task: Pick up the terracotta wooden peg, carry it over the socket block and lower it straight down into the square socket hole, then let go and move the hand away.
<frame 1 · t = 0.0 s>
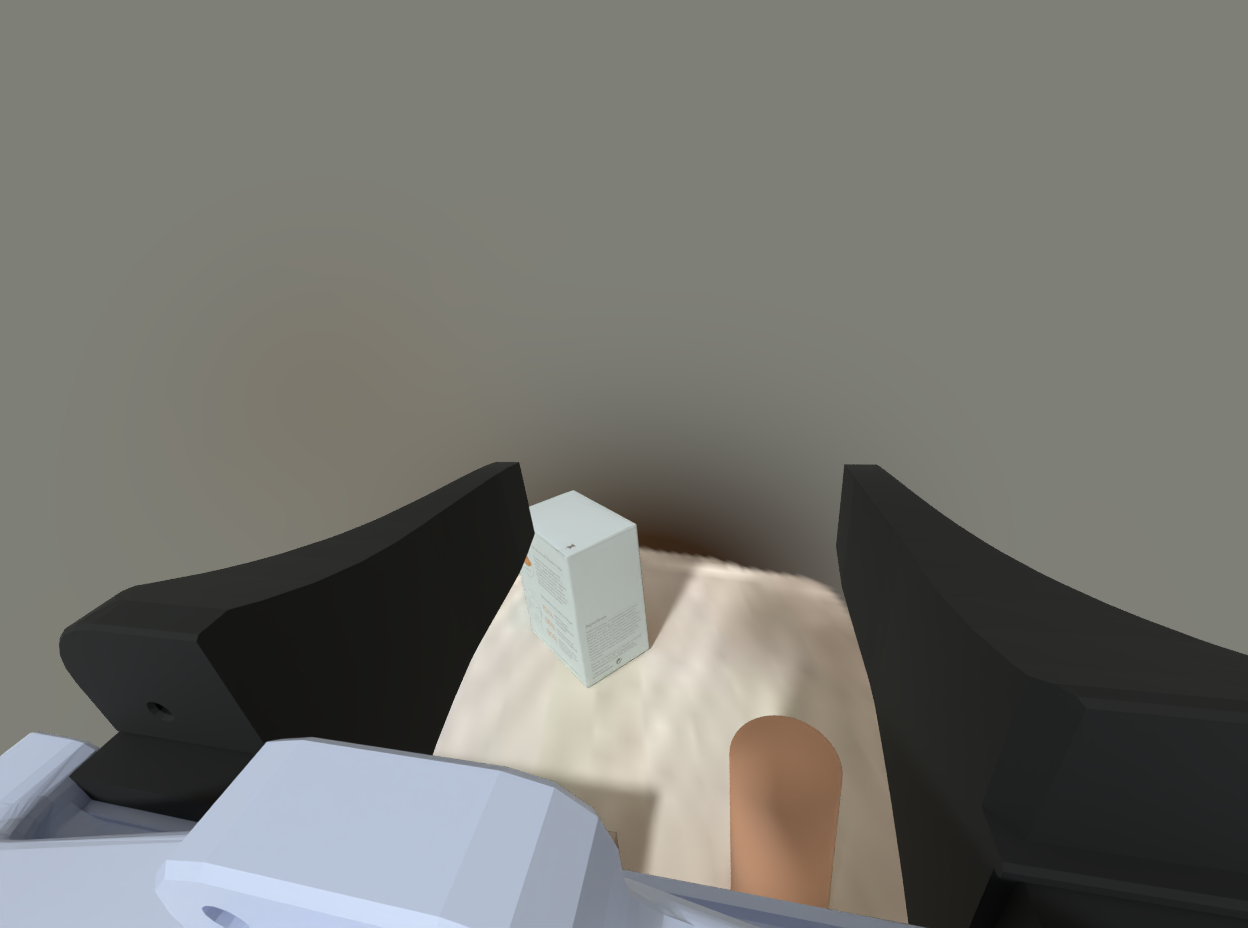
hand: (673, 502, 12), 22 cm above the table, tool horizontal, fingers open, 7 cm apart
small box: (588, 643, 39), on the table
peg: (777, 904, 23), on the table
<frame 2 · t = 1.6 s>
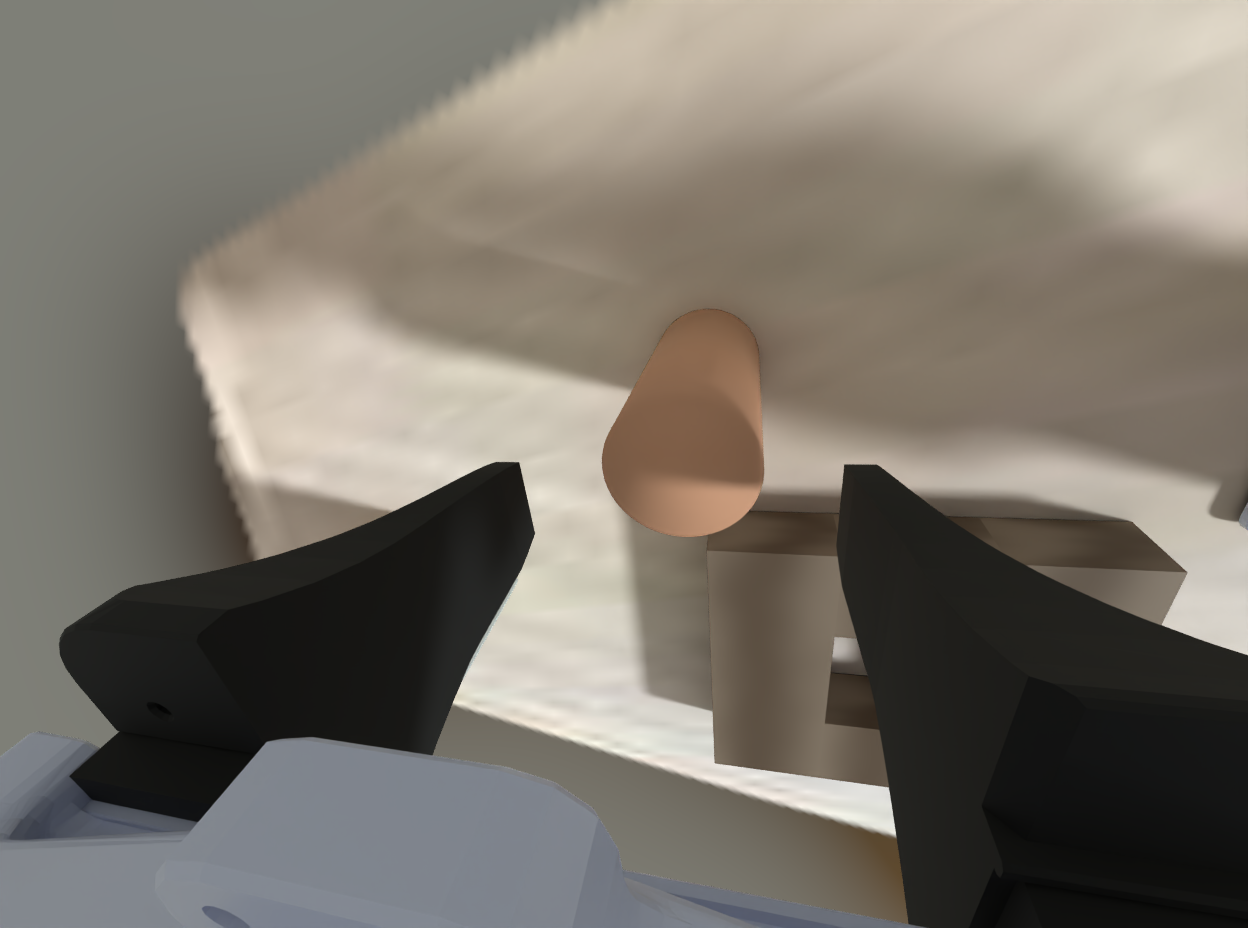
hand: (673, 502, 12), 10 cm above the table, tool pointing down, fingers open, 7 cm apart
small box: (452, 587, 30), on the table
peg: (706, 360, 21), on the table
socket block: (883, 636, 25), on the table
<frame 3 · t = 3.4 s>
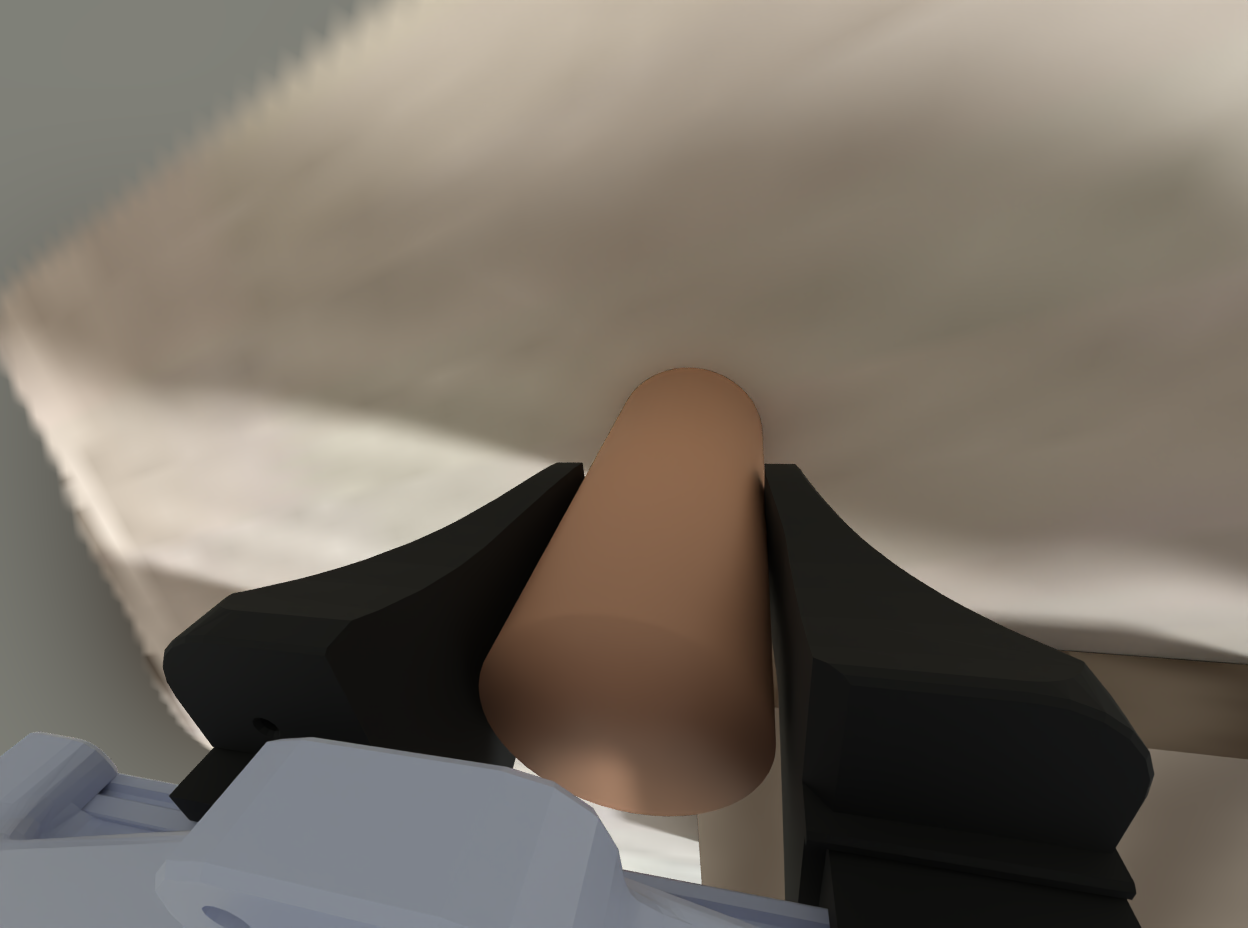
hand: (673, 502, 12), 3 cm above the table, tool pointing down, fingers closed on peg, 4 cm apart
peg: (688, 436, 15), on the table, touching gripper
socket block: (924, 780, 19), on the table
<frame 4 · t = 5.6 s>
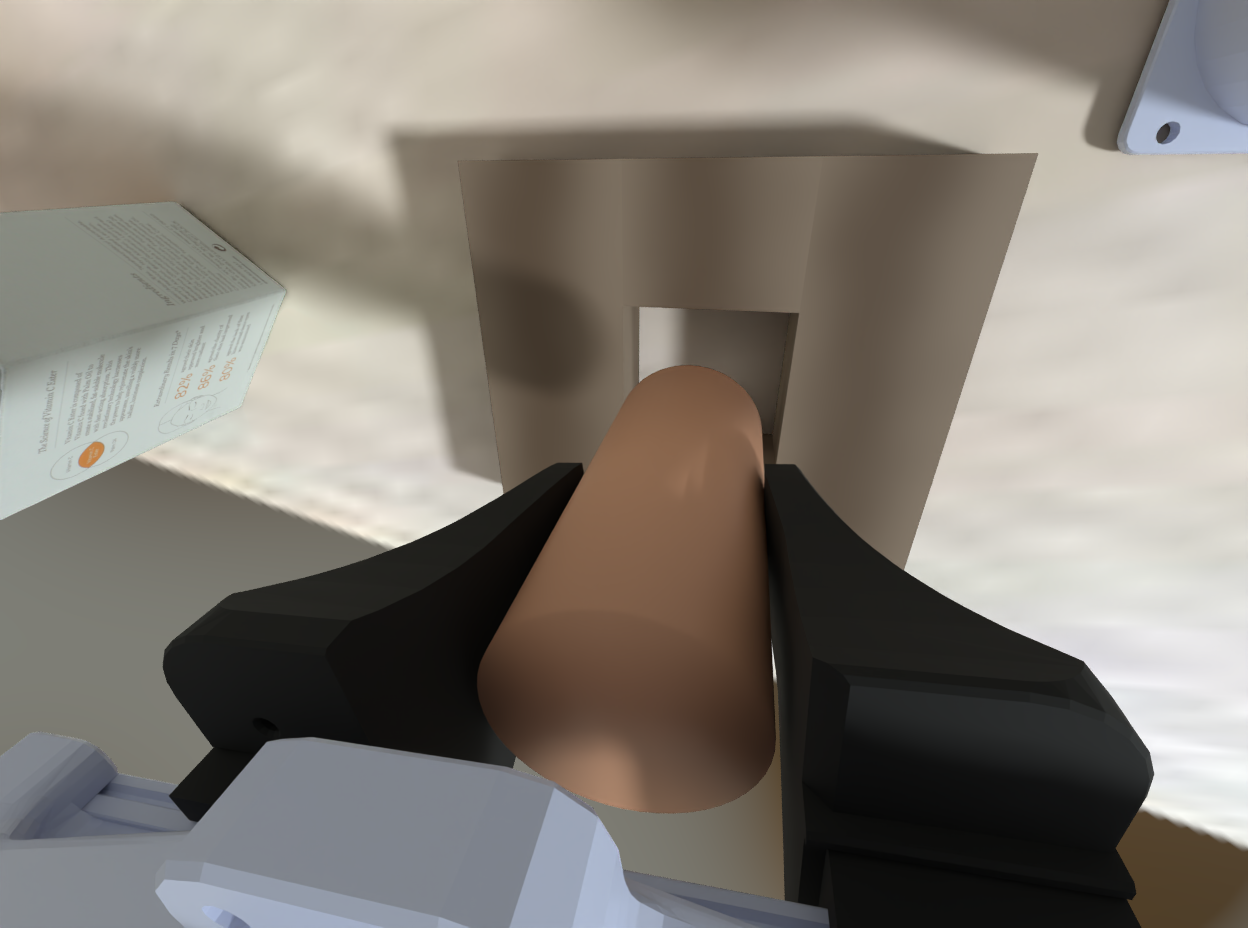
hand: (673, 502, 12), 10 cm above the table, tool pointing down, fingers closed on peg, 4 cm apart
small box: (218, 313, 25), on the table
peg: (688, 434, 15), point 7 cm above the table, touching gripper
socket block: (708, 364, 21), on the table
when the fingers open (4 cm above the table, at t = 8.2 s): peg stays where it is, resting in socket block.
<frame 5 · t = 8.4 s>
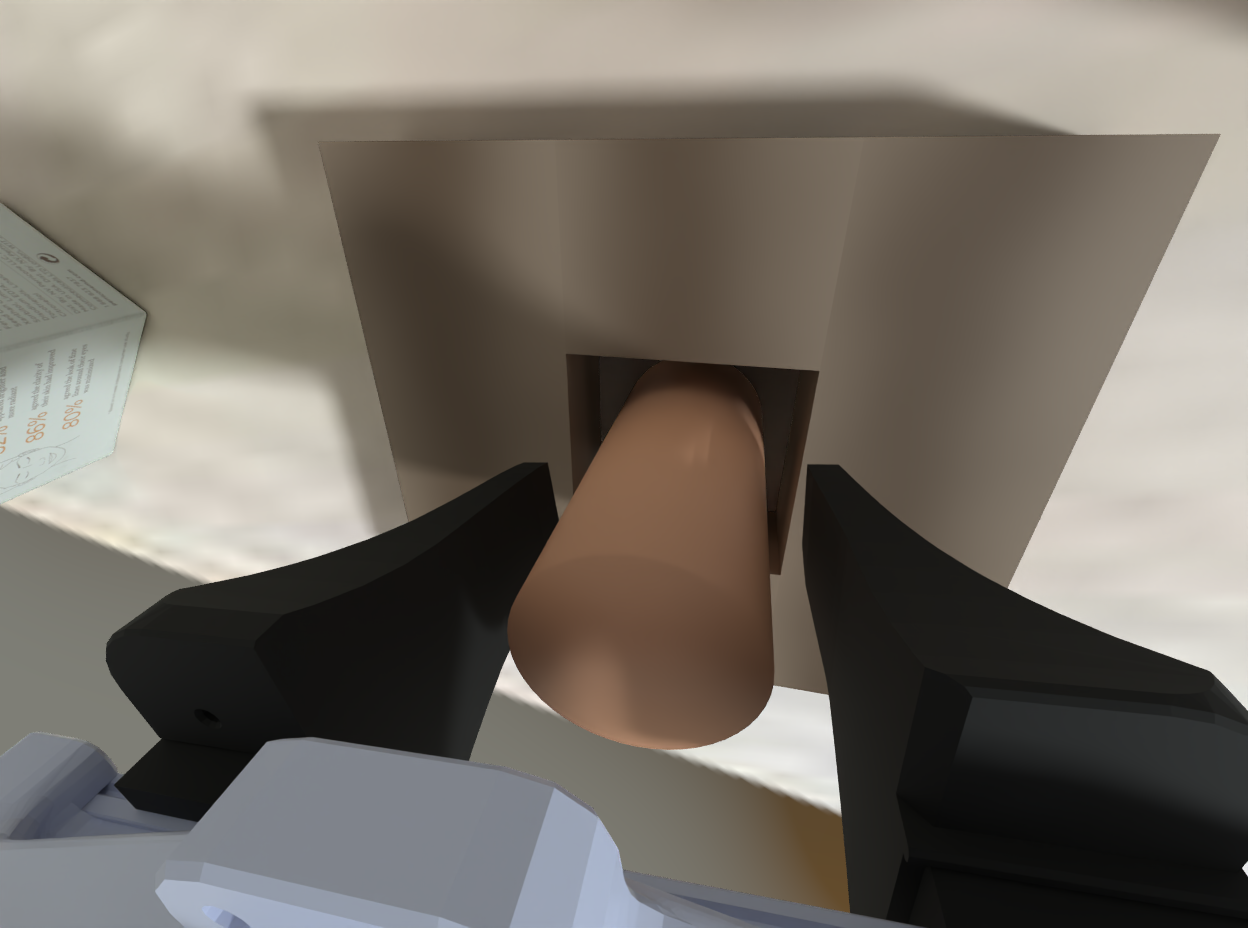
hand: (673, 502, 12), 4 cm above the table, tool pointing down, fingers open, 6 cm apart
small box: (71, 339, 19), on the table
peg: (692, 420, 15), resting in socket block
socket block: (691, 422, 16), on the table
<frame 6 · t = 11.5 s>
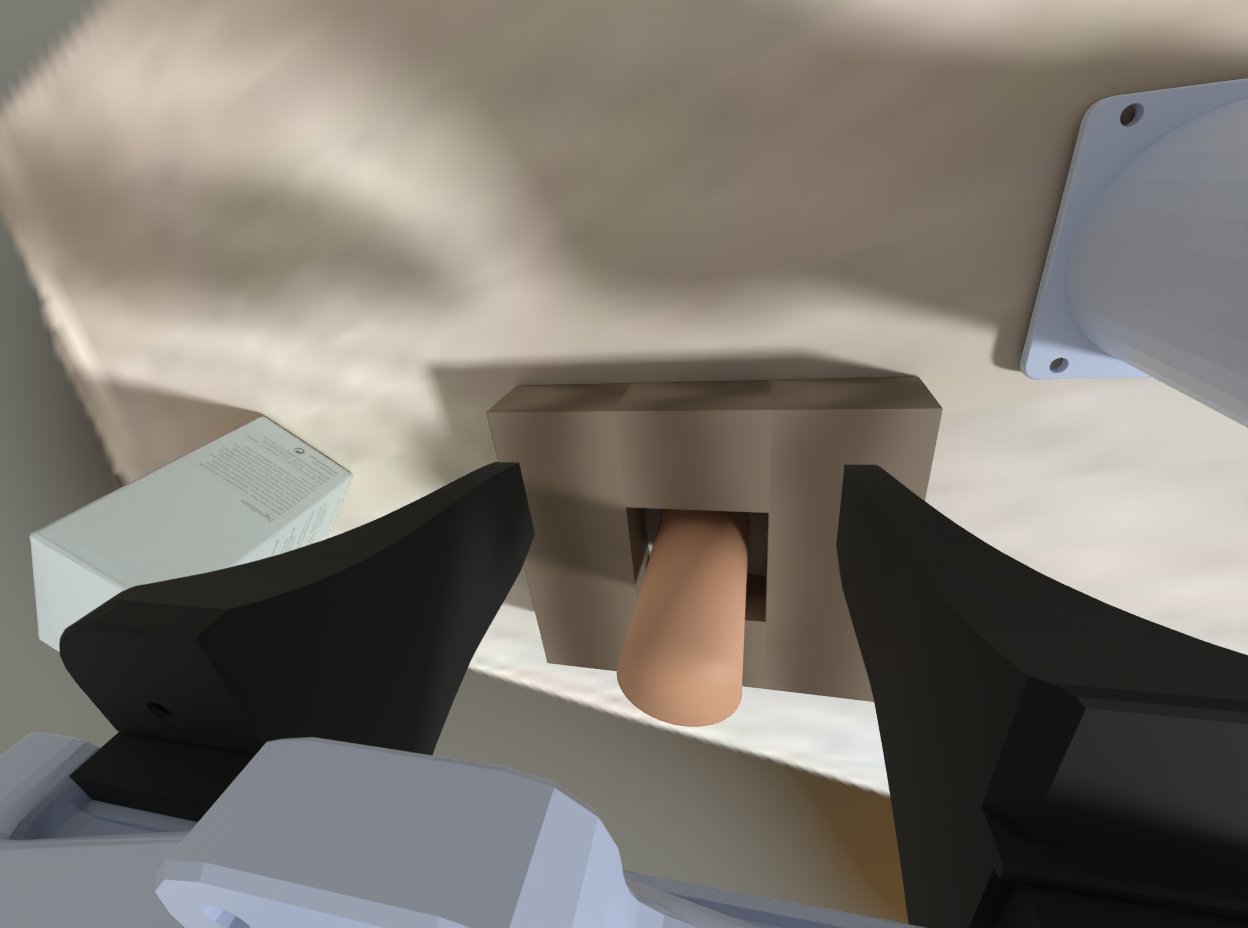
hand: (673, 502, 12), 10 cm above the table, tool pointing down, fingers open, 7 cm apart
small box: (298, 489, 30), on the table
peg: (704, 523, 24), resting in socket block
socket block: (704, 524, 24), on the table
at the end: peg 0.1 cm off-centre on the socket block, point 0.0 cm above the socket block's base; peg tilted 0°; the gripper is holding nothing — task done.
